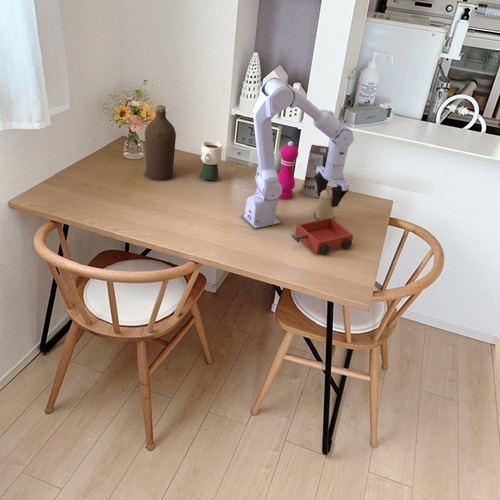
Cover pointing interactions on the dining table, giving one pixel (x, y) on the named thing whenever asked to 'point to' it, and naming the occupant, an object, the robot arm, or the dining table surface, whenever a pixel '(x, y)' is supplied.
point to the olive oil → (160, 146)
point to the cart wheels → (325, 247)
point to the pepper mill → (287, 170)
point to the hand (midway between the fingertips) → (327, 201)
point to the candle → (325, 205)
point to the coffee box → (314, 169)
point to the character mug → (210, 159)
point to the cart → (323, 234)
